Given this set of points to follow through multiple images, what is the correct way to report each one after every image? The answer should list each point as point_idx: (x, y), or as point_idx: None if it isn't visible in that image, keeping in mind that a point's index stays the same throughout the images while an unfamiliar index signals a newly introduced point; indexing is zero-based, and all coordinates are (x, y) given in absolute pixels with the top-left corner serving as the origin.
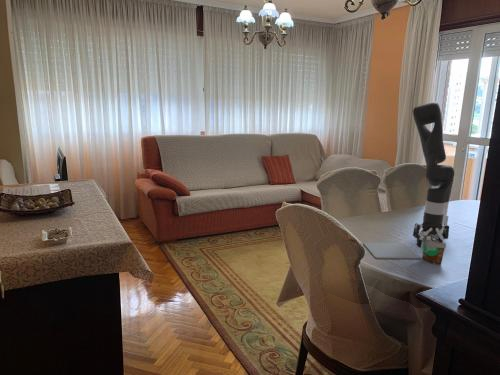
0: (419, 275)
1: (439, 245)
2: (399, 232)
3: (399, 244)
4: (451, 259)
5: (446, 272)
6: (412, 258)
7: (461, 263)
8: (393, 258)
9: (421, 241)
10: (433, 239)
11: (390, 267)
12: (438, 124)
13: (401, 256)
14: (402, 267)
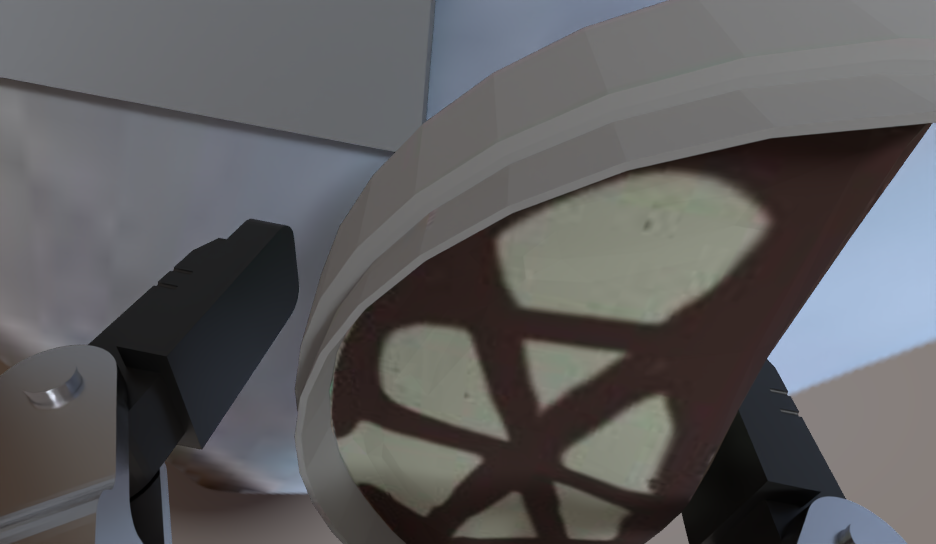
0: (249, 404)
1: None
2: None
3: None
4: (883, 230)
5: None
6: (299, 130)
7: (863, 339)
8: (36, 78)
9: (211, 413)
10: (579, 461)
11: (24, 264)
12: None
13: (140, 59)
14: (137, 285)
